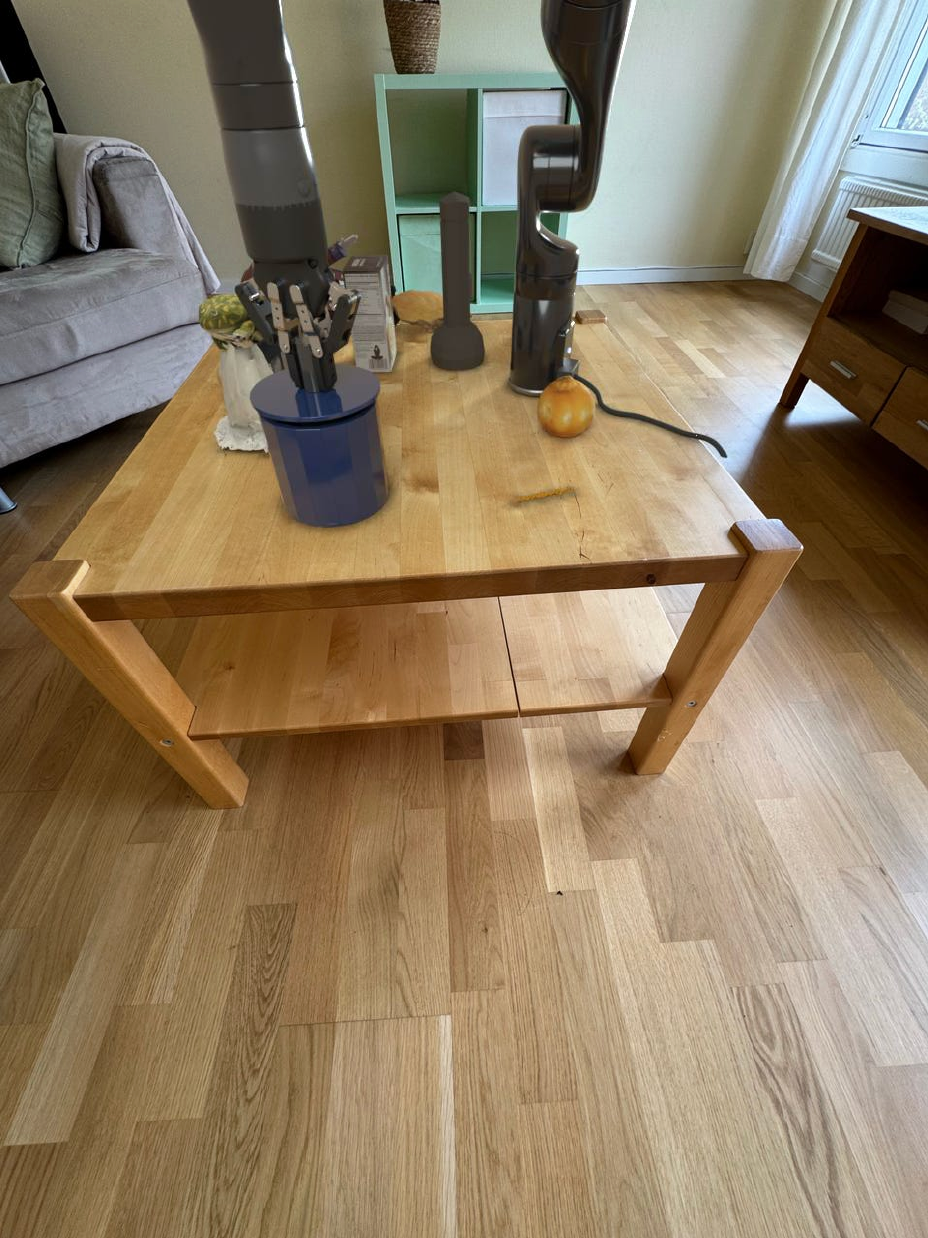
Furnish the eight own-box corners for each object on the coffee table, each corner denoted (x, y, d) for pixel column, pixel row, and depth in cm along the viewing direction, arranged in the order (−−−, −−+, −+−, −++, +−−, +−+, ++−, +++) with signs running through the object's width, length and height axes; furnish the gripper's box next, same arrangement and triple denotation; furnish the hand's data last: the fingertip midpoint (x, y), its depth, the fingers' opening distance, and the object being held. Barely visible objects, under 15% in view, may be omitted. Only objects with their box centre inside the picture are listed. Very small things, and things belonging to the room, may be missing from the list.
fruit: (517, 416, 83) (549, 373, 77) (544, 400, 88) (575, 359, 82) (556, 457, 83) (591, 417, 77) (580, 438, 88) (615, 400, 82)
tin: (405, 479, 75) (396, 386, 67) (357, 536, 67) (339, 438, 58) (319, 462, 79) (299, 371, 70) (263, 514, 70) (232, 418, 61)
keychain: (574, 490, 72) (571, 494, 73) (571, 483, 72) (568, 487, 73) (516, 502, 70) (515, 506, 71) (514, 495, 70) (512, 499, 71)
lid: (402, 381, 66) (397, 325, 62) (341, 436, 57) (331, 375, 53) (297, 366, 70) (286, 312, 66) (225, 415, 61) (206, 356, 56)
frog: (199, 436, 84) (148, 300, 71) (270, 405, 91) (236, 276, 78) (247, 462, 79) (201, 320, 66) (319, 427, 86) (291, 292, 72)
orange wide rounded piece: (480, 332, 117) (455, 302, 120) (485, 313, 114) (460, 282, 117) (407, 344, 110) (383, 312, 113) (411, 324, 106) (386, 291, 109)
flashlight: (436, 373, 100) (491, 367, 101) (427, 198, 82) (494, 194, 83) (426, 353, 107) (477, 347, 108) (416, 187, 89) (477, 183, 90)
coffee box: (363, 353, 107) (350, 254, 95) (397, 353, 107) (388, 253, 95) (356, 373, 100) (341, 269, 89) (392, 373, 100) (381, 269, 89)
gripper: (366, 189, 51) (387, 382, 63) (237, 182, 55) (281, 366, 67) (322, 205, 46) (354, 411, 59) (184, 197, 50) (242, 392, 62)
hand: (315, 386), depth 63 cm, fingers closed on lid, 2 cm apart
